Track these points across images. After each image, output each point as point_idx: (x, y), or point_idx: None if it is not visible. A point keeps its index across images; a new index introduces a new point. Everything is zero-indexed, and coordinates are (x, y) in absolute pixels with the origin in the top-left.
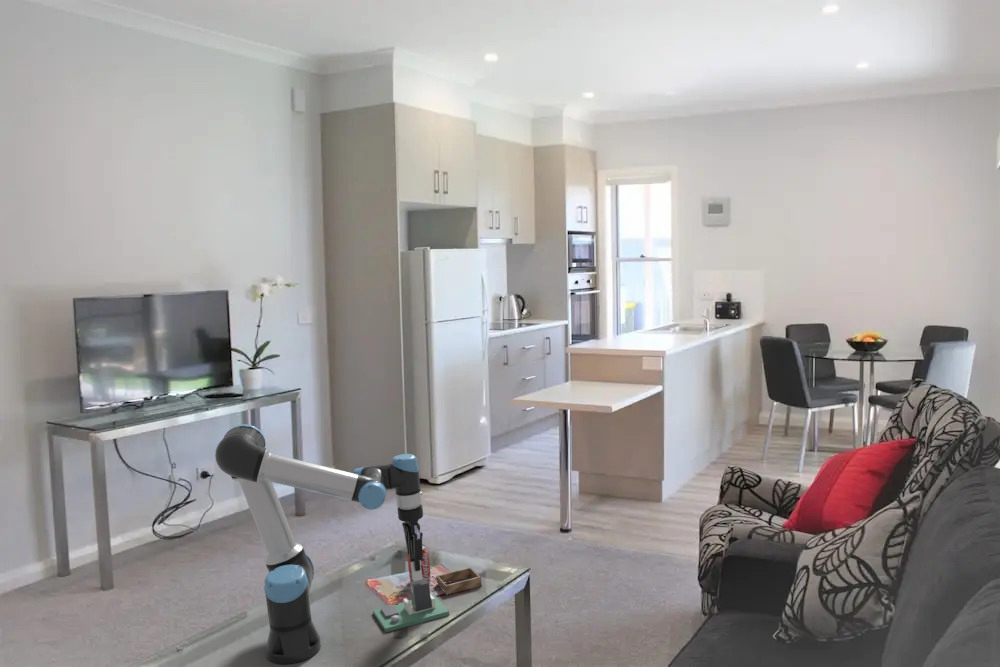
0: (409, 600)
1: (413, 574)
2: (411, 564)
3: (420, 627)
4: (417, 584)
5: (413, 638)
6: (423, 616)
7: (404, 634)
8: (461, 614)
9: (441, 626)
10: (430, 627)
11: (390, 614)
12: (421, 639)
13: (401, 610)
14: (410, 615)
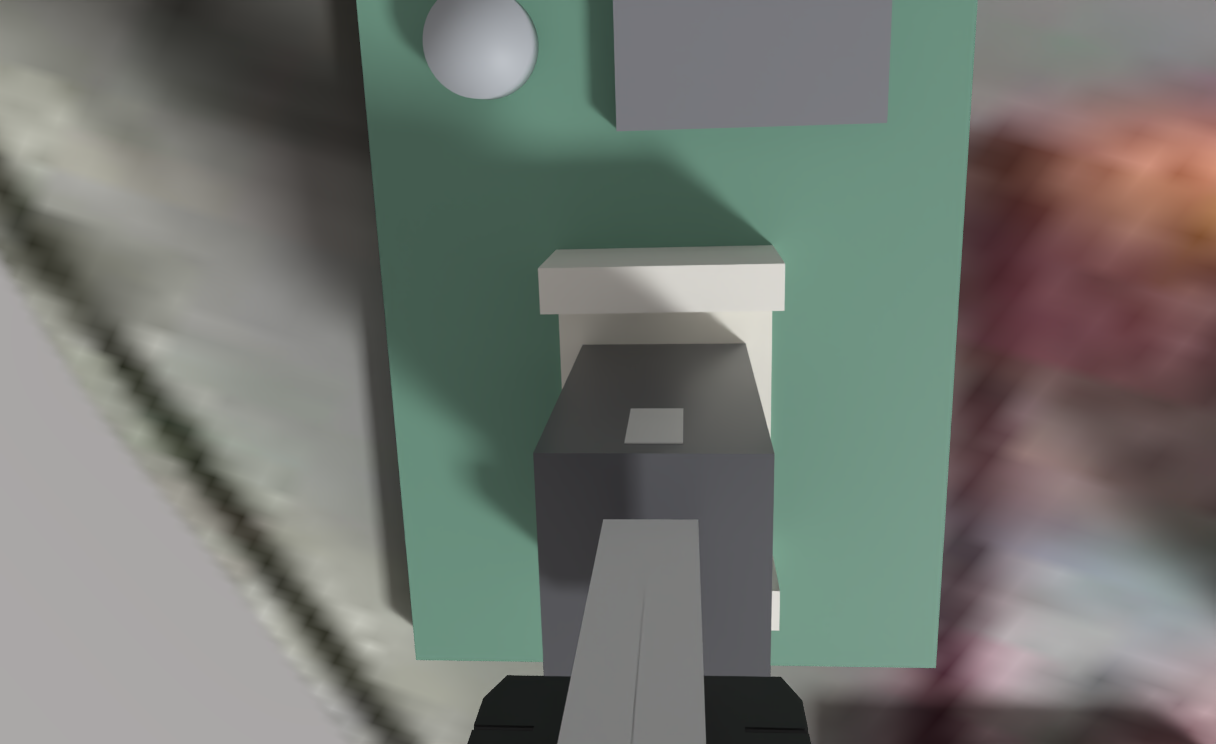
0: (945, 366)
1: (591, 586)
2: (650, 711)
3: (297, 291)
4: (594, 540)
5: (84, 148)
6: (430, 386)
7: (215, 80)
8: (380, 734)
9: (221, 489)
10: (249, 385)
11: (623, 12)
12: (30, 220)
13: (728, 195)
14: (531, 258)
